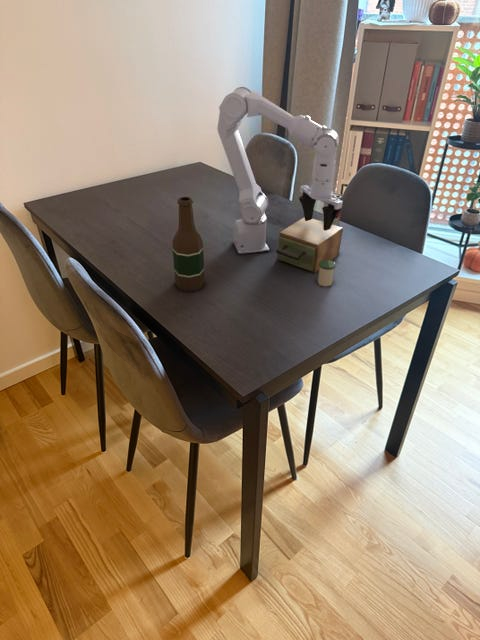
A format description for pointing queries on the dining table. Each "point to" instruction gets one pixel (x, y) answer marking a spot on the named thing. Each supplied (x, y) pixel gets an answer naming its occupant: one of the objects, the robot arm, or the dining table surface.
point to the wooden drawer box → (316, 238)
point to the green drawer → (296, 252)
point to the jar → (326, 272)
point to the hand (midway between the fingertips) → (317, 224)
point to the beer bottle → (188, 250)
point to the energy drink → (336, 220)
